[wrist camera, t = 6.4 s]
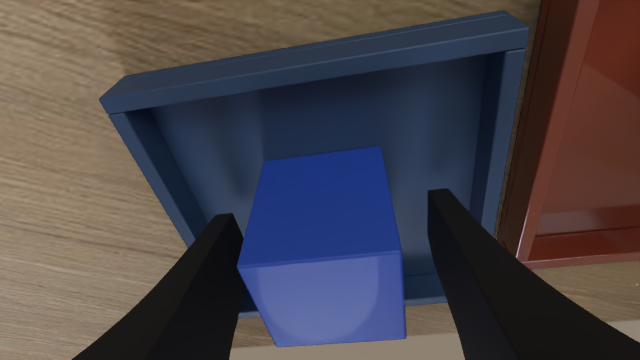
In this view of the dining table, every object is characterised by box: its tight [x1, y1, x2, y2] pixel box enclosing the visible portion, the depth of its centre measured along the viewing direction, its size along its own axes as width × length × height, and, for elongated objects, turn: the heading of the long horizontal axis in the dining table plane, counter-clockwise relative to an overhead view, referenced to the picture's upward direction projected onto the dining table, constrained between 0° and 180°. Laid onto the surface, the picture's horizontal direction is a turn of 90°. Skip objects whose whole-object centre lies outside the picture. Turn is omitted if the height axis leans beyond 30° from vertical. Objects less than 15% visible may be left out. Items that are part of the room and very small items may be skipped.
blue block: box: [237, 146, 407, 347], centre depth 11 cm, size 4×4×4 cm
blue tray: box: [99, 10, 530, 319], centre depth 13 cm, size 11×11×2 cm
